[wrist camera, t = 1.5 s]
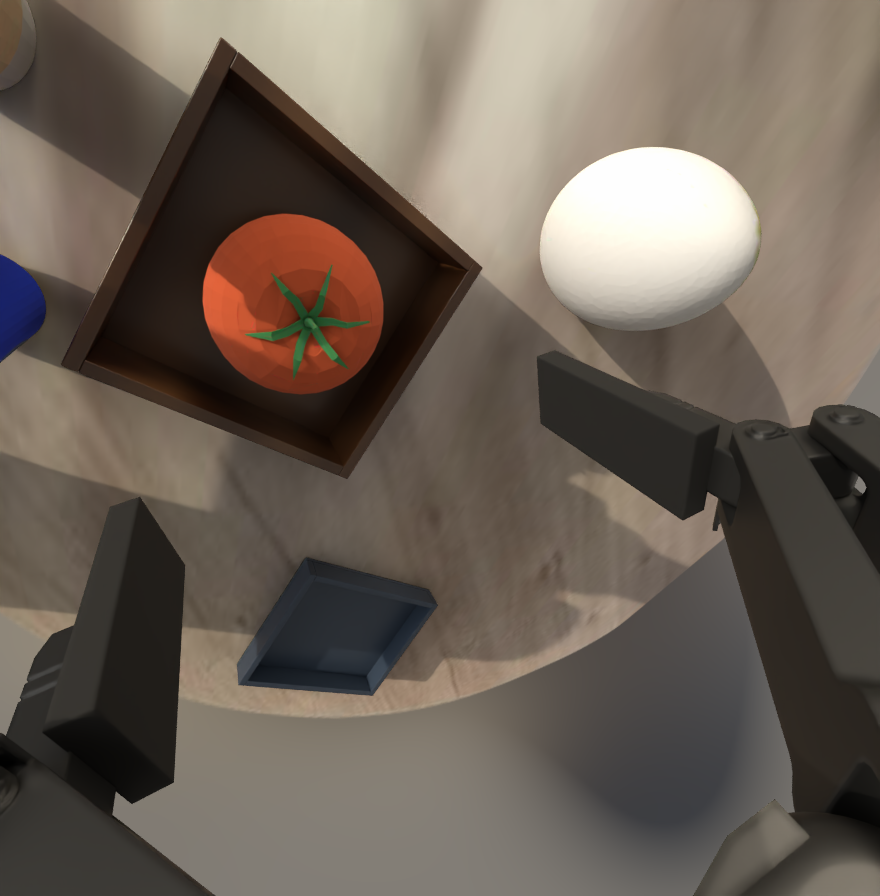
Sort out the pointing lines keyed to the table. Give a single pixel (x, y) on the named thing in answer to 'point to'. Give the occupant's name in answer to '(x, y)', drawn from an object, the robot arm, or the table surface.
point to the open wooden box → (225, 210)
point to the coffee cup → (15, 41)
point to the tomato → (293, 304)
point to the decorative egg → (649, 239)
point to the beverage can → (18, 306)
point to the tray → (335, 631)
